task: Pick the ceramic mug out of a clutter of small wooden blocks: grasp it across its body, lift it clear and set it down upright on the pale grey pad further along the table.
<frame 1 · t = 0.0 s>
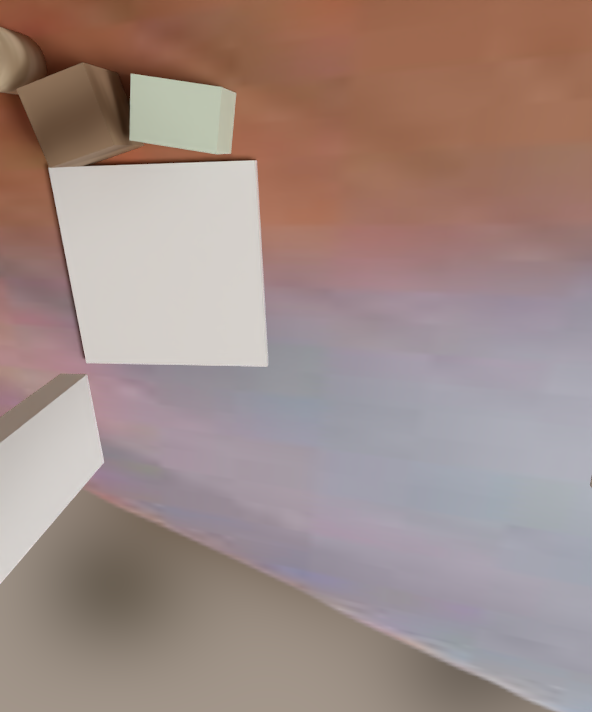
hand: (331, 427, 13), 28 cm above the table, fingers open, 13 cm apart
pad: (165, 269, 42), on the table
sage block: (193, 117, 38), on the table
beech cylinder: (20, 65, 38), on the table
walnut block: (102, 121, 39), on the table
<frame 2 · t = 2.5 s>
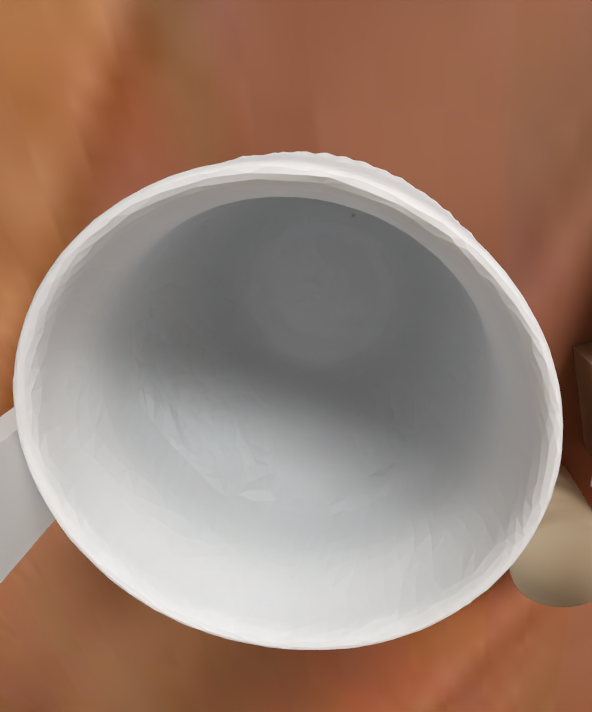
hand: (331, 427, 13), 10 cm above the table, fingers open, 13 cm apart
mug: (336, 306, 23), on the table, touching gripper
beech cylinder: (527, 489, 25), on the table
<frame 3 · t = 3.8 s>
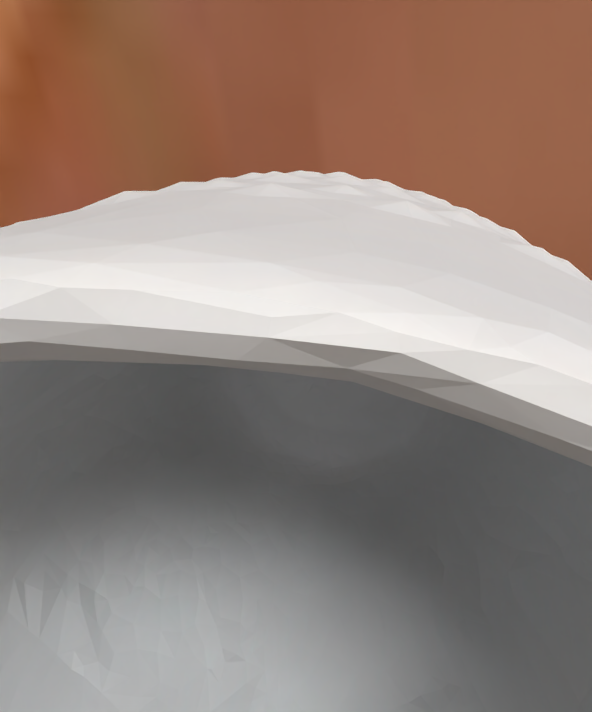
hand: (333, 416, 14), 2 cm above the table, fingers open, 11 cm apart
mug: (353, 380, 16), on the table
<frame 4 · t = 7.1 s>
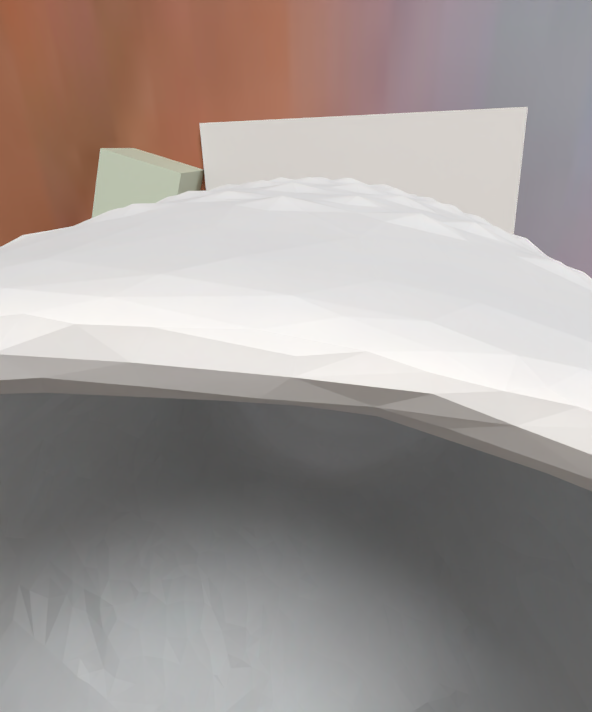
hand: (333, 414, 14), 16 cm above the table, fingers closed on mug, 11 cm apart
pad: (356, 273, 29), on the table
sage block: (160, 213, 29), on the table
mug: (358, 383, 16), point 14 cm above the table, touching gripper
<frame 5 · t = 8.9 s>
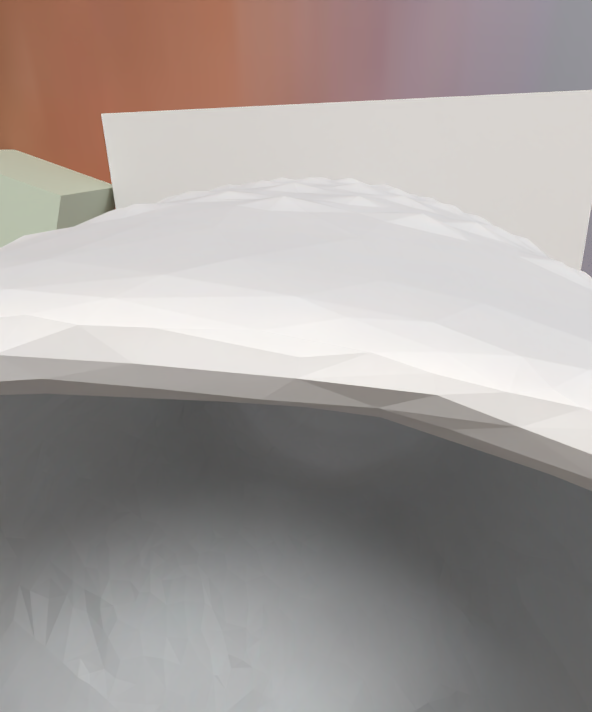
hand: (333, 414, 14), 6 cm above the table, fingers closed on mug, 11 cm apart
pad: (341, 335, 20), on the table
sage block: (57, 245, 20), on the table
mug: (359, 383, 16), point 4 cm above the table, touching gripper
when the fingers open (4 cm above the table, at t = 10.4 s): mug drops 1 cm, resting on pad.
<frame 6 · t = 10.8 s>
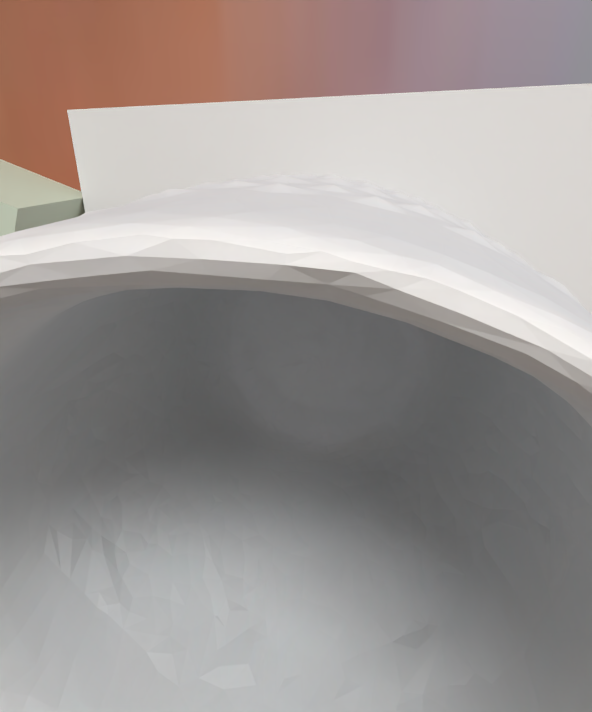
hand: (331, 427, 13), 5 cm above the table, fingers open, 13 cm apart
pad: (341, 359, 18), on the table
sage block: (23, 258, 18), on the table
mug: (346, 365, 17), resting on pad
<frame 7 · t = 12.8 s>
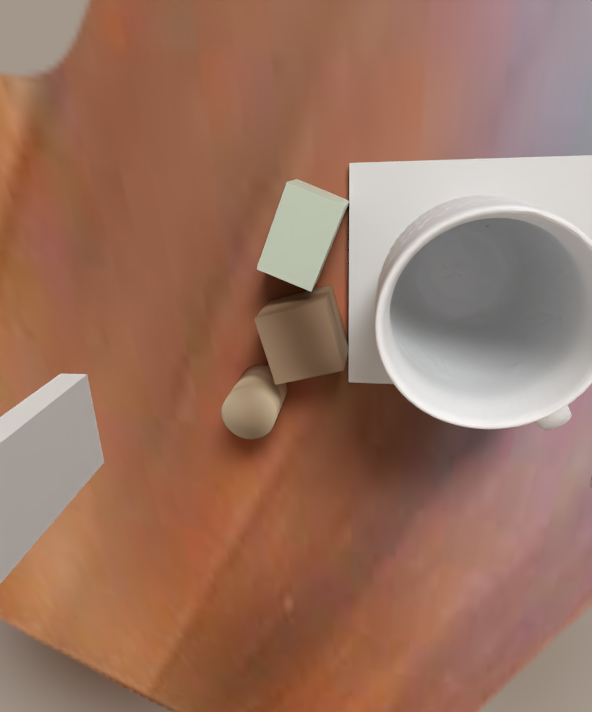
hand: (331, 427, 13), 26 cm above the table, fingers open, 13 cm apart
pad: (462, 279, 37), on the table
sage block: (308, 230, 38), on the table
mug: (466, 281, 37), resting on pad
beech cylinder: (263, 387, 43), on the table
walnut block: (309, 323, 40), on the table
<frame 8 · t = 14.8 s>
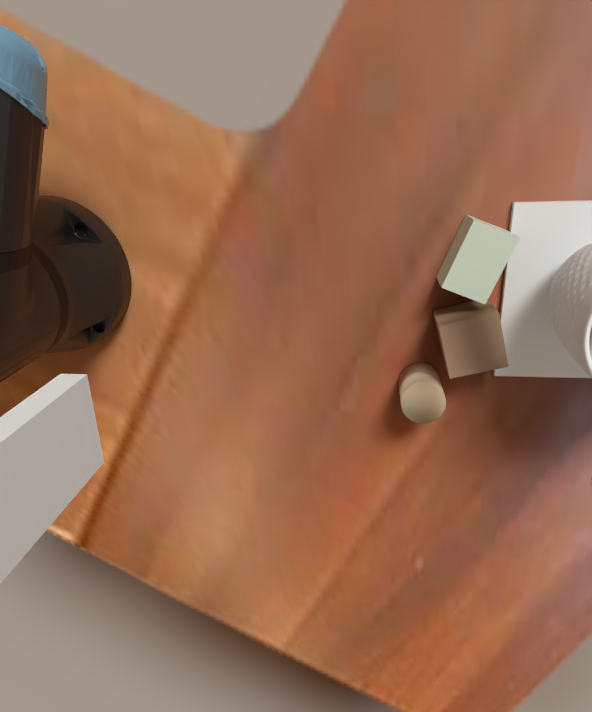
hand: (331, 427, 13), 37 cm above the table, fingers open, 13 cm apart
sage block: (471, 254, 47), on the table
beech cylinder: (418, 381, 52), on the table
walnut block: (464, 328, 49), on the table
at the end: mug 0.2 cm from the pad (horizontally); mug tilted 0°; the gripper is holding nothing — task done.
